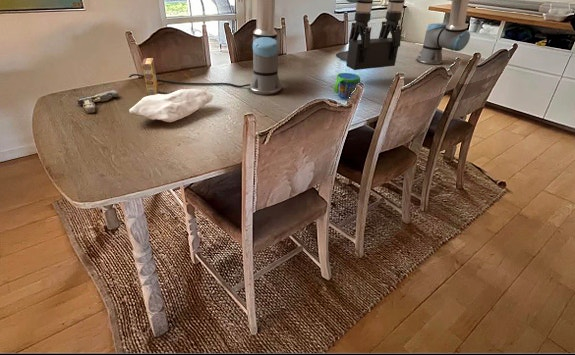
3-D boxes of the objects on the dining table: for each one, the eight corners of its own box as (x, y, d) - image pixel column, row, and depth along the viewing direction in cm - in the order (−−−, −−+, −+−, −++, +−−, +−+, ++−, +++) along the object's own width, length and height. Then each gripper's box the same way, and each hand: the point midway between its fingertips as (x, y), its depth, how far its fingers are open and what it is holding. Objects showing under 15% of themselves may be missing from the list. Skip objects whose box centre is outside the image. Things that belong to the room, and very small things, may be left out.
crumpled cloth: (117, 110, 146) (113, 90, 140) (195, 92, 166) (194, 73, 160) (143, 139, 134) (140, 118, 128) (223, 116, 154) (224, 96, 148)
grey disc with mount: (401, 60, 233) (403, 45, 228) (362, 67, 215) (363, 51, 211) (362, 51, 258) (364, 38, 253) (324, 57, 240) (325, 42, 236)
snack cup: (350, 91, 181) (353, 70, 175) (365, 97, 173) (368, 76, 168) (326, 96, 173) (328, 75, 168) (340, 103, 166) (343, 81, 160)
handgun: (128, 97, 156) (111, 87, 164) (86, 107, 144) (70, 97, 152) (129, 103, 157) (113, 94, 165) (88, 114, 146) (72, 103, 154)
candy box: (157, 97, 164) (152, 63, 155) (147, 98, 163) (141, 63, 155) (158, 91, 171) (153, 57, 163) (149, 91, 170) (143, 58, 162)
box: (354, 70, 185) (357, 43, 178) (346, 66, 191) (349, 40, 184) (394, 65, 195) (399, 40, 188) (385, 62, 201) (390, 37, 194)
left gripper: (382, 15, 169) (374, 65, 181) (357, 8, 184) (351, 54, 197) (369, 16, 166) (362, 66, 178) (345, 9, 182) (339, 55, 194)
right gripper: (414, 14, 176) (404, 62, 188) (387, 8, 191) (380, 52, 204) (401, 15, 173) (392, 63, 185) (375, 8, 189) (369, 53, 201)
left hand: (356, 60), depth 187 cm, fingers closed on box, 8 cm apart
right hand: (386, 57), depth 194 cm, fingers closed on box, 8 cm apart
